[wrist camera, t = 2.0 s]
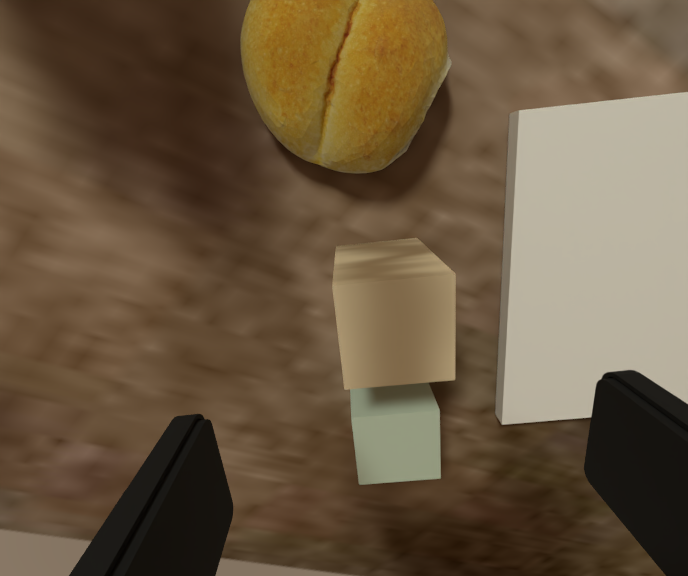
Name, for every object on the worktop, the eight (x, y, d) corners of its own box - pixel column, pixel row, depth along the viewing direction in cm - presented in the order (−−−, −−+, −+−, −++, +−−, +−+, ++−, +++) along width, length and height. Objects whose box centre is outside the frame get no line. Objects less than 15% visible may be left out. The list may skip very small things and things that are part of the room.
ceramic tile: (759, 86, 17) (784, 81, 16) (681, 398, 23) (696, 408, 22) (509, 113, 17) (519, 110, 16) (495, 414, 23) (501, 424, 22)
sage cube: (420, 363, 22) (439, 410, 18) (422, 422, 23) (440, 478, 19) (349, 369, 22) (351, 417, 18) (356, 427, 23) (359, 484, 19)
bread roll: (284, -68, 15) (264, -148, 11) (462, 32, 16) (498, -10, 13) (225, 122, 18) (193, 109, 14) (384, 197, 19) (395, 204, 15)
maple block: (416, 237, 19) (455, 273, 13) (419, 312, 21) (455, 379, 14) (336, 246, 19) (332, 285, 13) (344, 319, 21) (344, 389, 14)
